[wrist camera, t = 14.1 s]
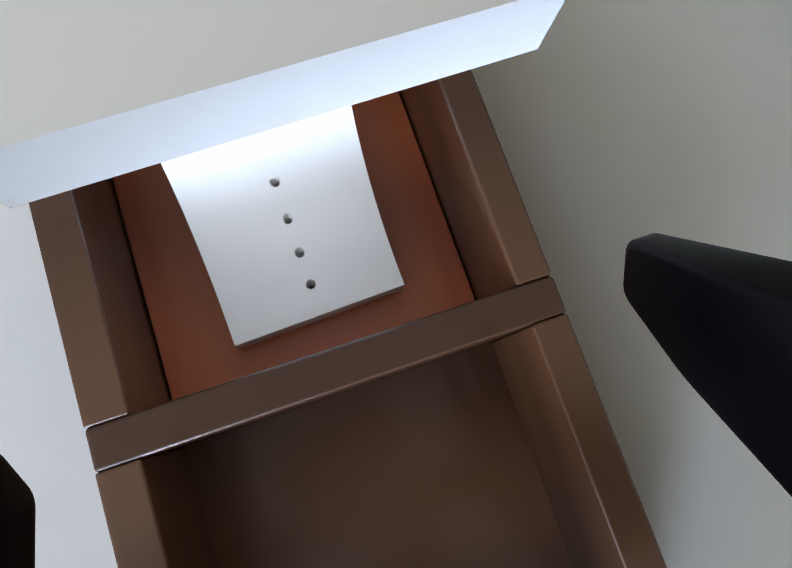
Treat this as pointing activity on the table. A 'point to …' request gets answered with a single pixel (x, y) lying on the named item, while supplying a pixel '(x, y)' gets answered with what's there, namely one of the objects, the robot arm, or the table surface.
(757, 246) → the table surface
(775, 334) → the robot arm
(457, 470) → the divided wooden tray
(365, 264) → the headphone stand
